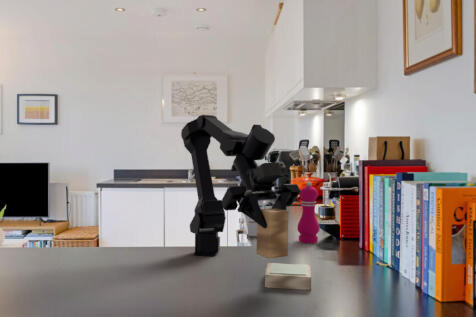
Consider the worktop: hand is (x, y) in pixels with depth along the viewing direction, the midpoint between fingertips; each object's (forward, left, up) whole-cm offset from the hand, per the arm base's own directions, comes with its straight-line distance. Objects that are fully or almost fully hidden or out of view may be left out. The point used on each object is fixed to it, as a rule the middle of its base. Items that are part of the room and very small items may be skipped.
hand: (276, 226), depth 92 cm
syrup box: (-9, +57, -14) cm, 60 cm away
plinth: (+3, +4, -13) cm, 14 cm away
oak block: (-1, +1, -7) cm, 7 cm away
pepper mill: (+9, +50, -14) cm, 52 cm away
